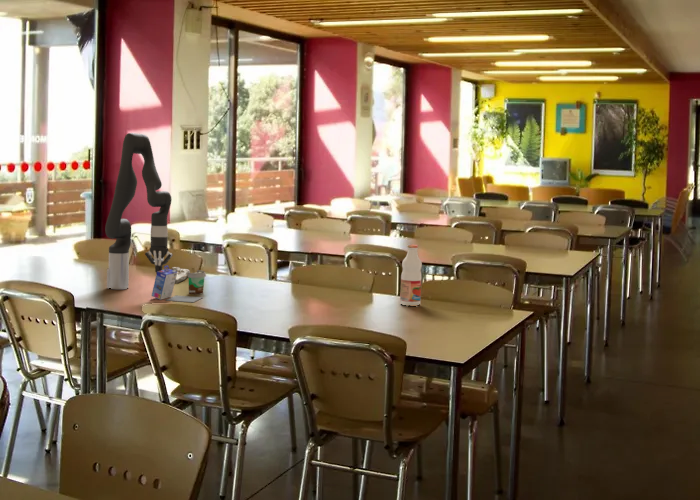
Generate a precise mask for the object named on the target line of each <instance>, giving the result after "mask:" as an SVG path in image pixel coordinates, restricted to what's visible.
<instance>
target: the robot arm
mask: <svg viewBox="0 0 700 500" xmlns="http://www.w3.org/2000/svg"><path fill="white" fill-rule="evenodd" d="M134 154H138V155H141V156H142V158H143V167H142V169H141V176H142V177H141V178H142V180H143V182H144V185H145V188H146V196H147V197H146V201H147V203H148V204H149V206H151V207H153V208H159V209H158V211H154V212H152V213H151V220H150V221H151V224H150V247H149V250H148V251H147V252H144V255H145V257H146V259H148V261H149V262H150V264H152V265H154V273H156V275H157V271H161V270H163V265H164V266H165V265H166V264H167V263H168V262H169V261H170V260H171V258H172V257H173V256H174V254H173V253H172V252H170V251H169V247H168V243H169V242H168V237H169V231H168V216H169V212H170V208H171V204H172V196H171V192H169V191H166V190H160V189H161V187H162V185H163V184H162V180H161V178H160V176H159V173H158V169H157V168H156V163H155V158H154V153H153V149H152V144H151V141H150V138H149V137H148V136H147V134H144V133H133V132H128V133H126V134H125V136H124V138H123V142H122V150H121V158H120V159H121V160H120V165H119V171H118V175H117V179H116V182H115V183H116V184H115V188H114V194H113V198H112V203H111V207H110V210H109V213H108V216H107V219H106V223H105V228H104V229H105V230H104V231H105V232H104V233H105V235H106V237H107V238H109V239H112V240H113V239H115V241H114V243H112V244H111V245H110V246H109V247H108V268H107V269H106V289H109V288H111V289H110V290H127V288H128V289H129V286H130V285H129V273H130V272H129V271H130V270H129V266H130V265H129V263H130V262H129V259H130V258H129V257H130V256H129V252H130V248H131V240H132V225H131V221H129V220H128V219H127V218H122V217H123V214H124V211H125V210H126V208H127V207H128V205H129V204H130V203H131V202H132V200H133V198H135V195H136V190H137V186H138V178H137V176H136V171H135V169H134V167H133V163H132V162H133V158H134ZM159 190H160V191H159Z"/></svg>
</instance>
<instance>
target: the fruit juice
mask: <svg viewBox="0 0 700 500" xmlns="http://www.w3.org/2000/svg"><path fill="white" fill-rule="evenodd" d="M418 249H419V245H418V244H413V243H412V244H411V243H410V244H407V253H406V256H405V257H404V258H403V259H402V263H401V267H402V272H401V275H400V291H399V292H400V296H399V304H403V305H419V304H420V305H421V300H422V299H421V297H422V272H421V270H422V267H423V263H422V260H421V258H420V257H419V253H418Z"/></svg>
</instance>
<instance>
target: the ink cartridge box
mask: <svg viewBox="0 0 700 500" xmlns="http://www.w3.org/2000/svg"><path fill="white" fill-rule="evenodd" d="M176 276H177V272H176V271H173V270H171V269H170V267H169V265H168V264H167V265H164V266H163V269H162V270H161V271H157V274H156V275H155V279H154V284H153V288H152V290H151V291H152V292H151V297H153V298H155V299H157V300H160V301H162V300H166V299H169V298H171V297H173V296H172V295H173V292H174V287H175V280H176Z"/></svg>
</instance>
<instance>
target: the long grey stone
mask: <svg viewBox="0 0 700 500" xmlns="http://www.w3.org/2000/svg"><path fill="white" fill-rule="evenodd" d="M171 270H173V271H176V272H177V276H176V280H175V284H179V283H181V282H184V280H187V278H188V273H191V270H189V269H187V268H181V267H180V266H172V267H171ZM175 284H174V285H175Z"/></svg>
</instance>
